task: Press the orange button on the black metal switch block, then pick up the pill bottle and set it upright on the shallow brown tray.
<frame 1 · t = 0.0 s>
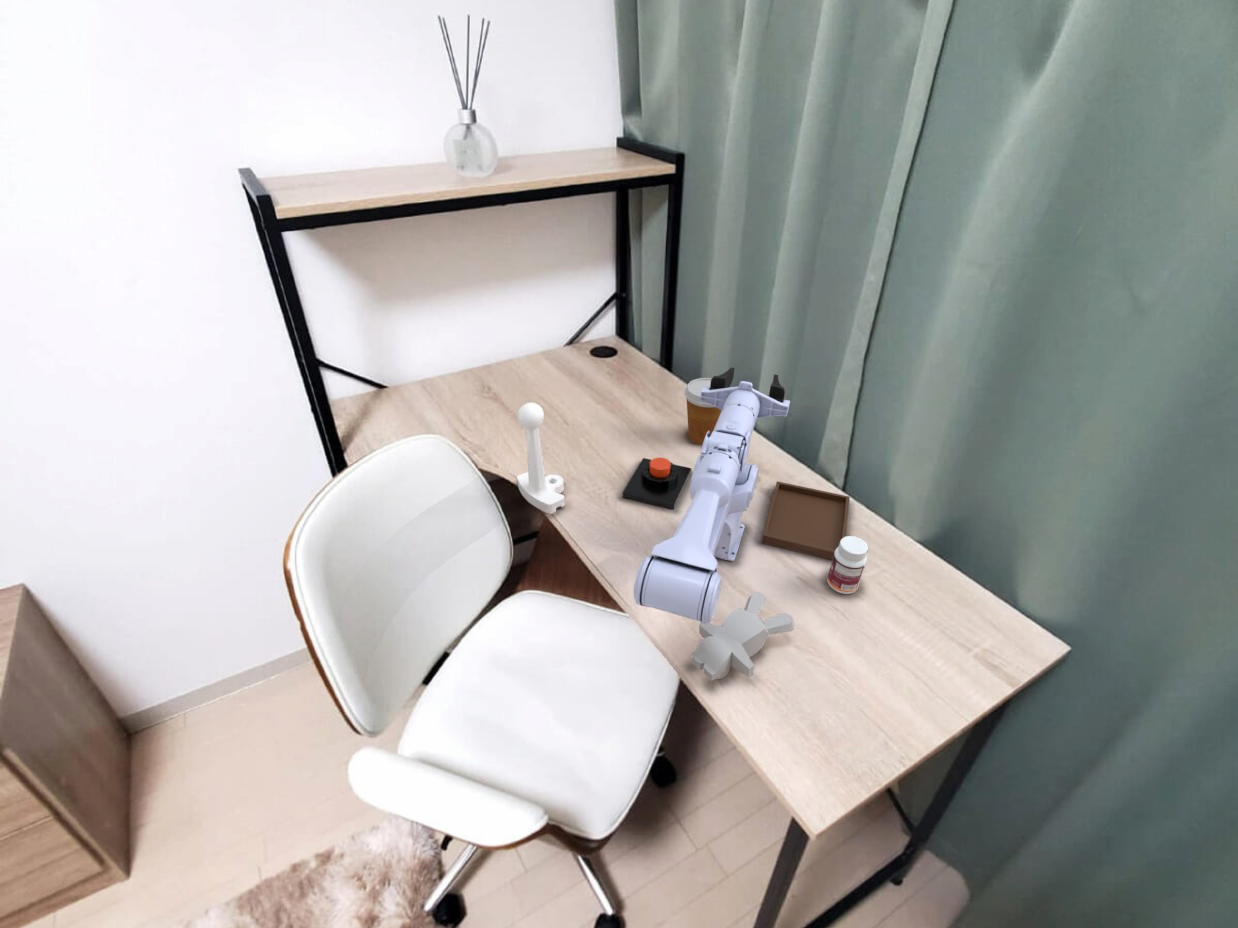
hand: (753, 376, 106), 22 cm above the table, tool horizontal, fingers open, 7 cm apart
disposable coffee cup: (703, 437, 130), on the table
bunny figurine: (737, 648, 85), on the table
power button: (660, 467, 115), point 4 cm above the table, slide at 0.1 cm
switch block: (657, 485, 116), on the table
shallow brown tray: (806, 522, 107), on the table
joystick: (545, 494, 114), on the table
pill bottle: (841, 584, 95), on the table
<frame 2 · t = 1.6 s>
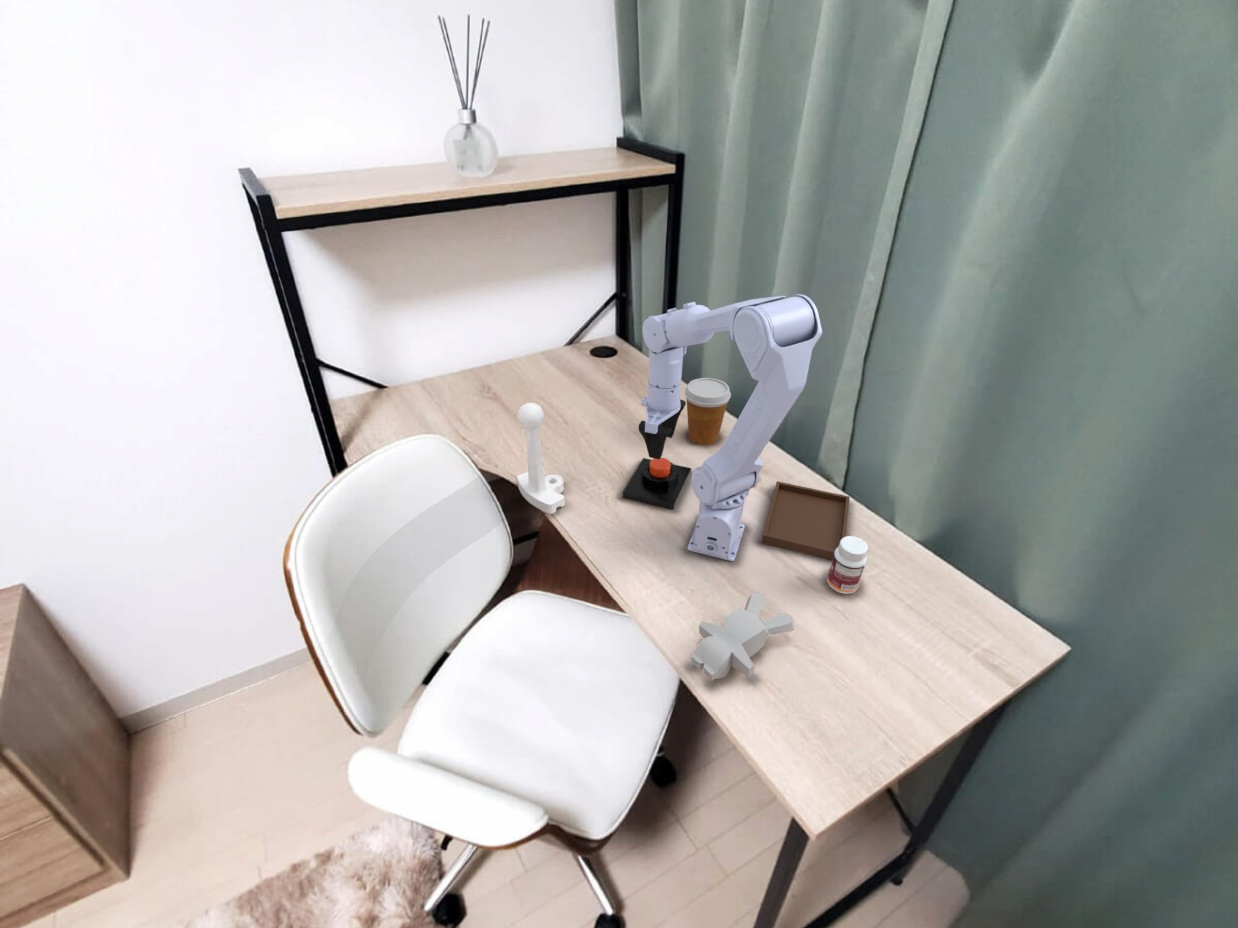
hand: (661, 446, 112), 8 cm above the table, tool pointing down, fingers open, 7 cm apart
nothing on the table moved.
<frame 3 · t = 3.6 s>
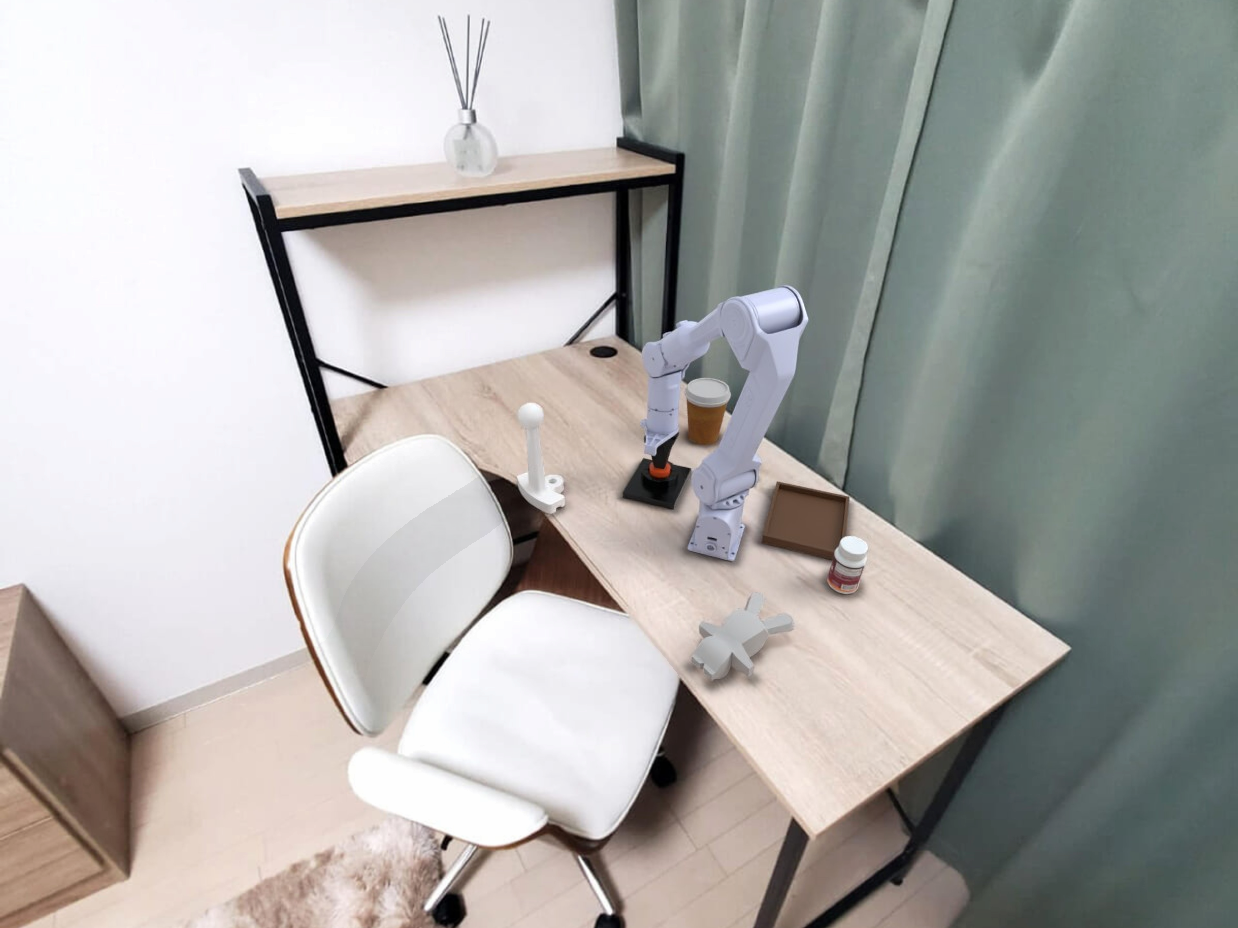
hand: (659, 466, 114), 4 cm above the table, tool pointing down, fingers closed, pressing on power button
power button: (659, 470, 115), point 3 cm above the table, slide at -0.5 cm, touching gripper
everything else where it was.
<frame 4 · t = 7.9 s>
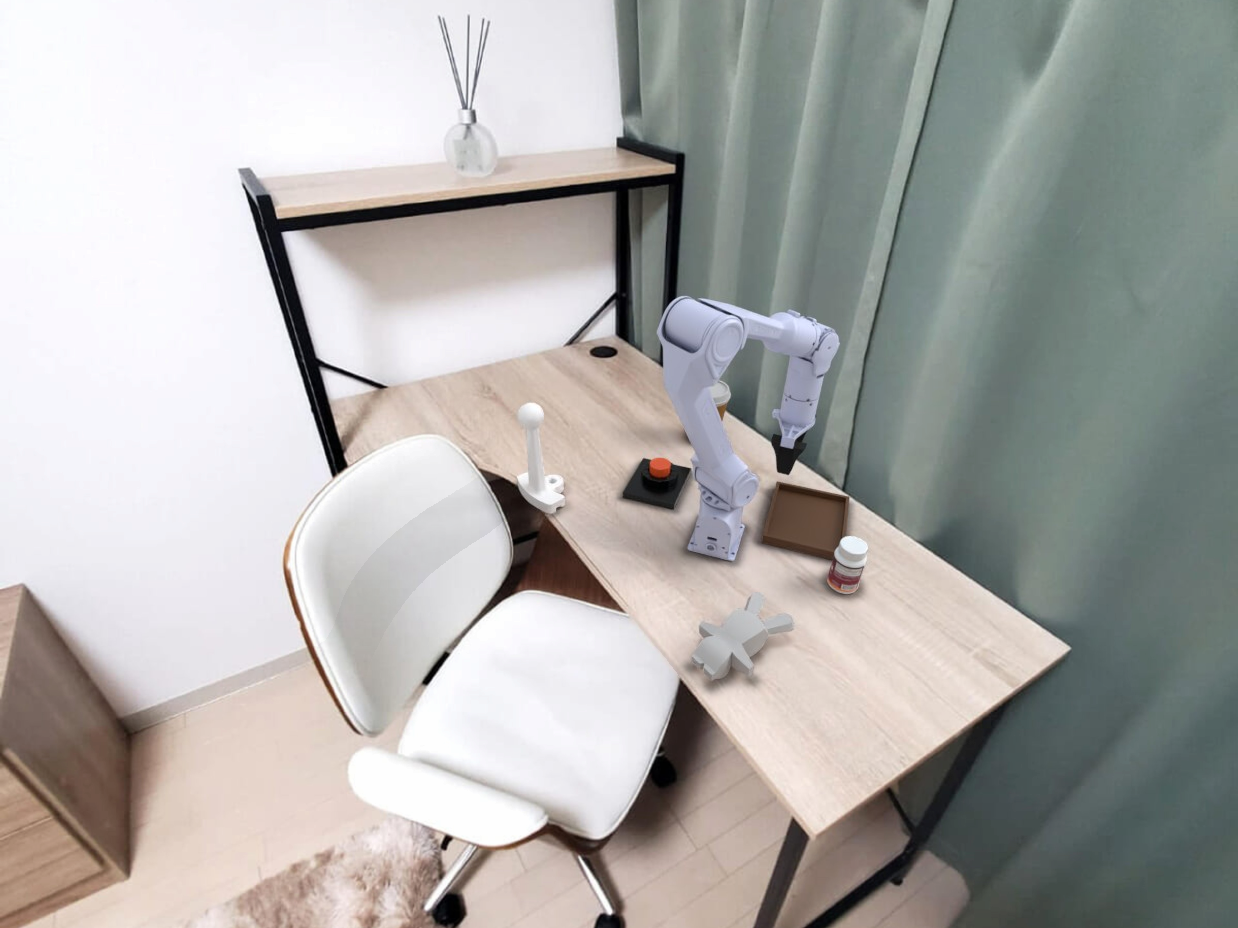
hand: (787, 461, 106), 9 cm above the table, tool pointing down, fingers open, 7 cm apart
power button: (660, 467, 115), point 4 cm above the table, slide at 0.1 cm
everything else where it was.
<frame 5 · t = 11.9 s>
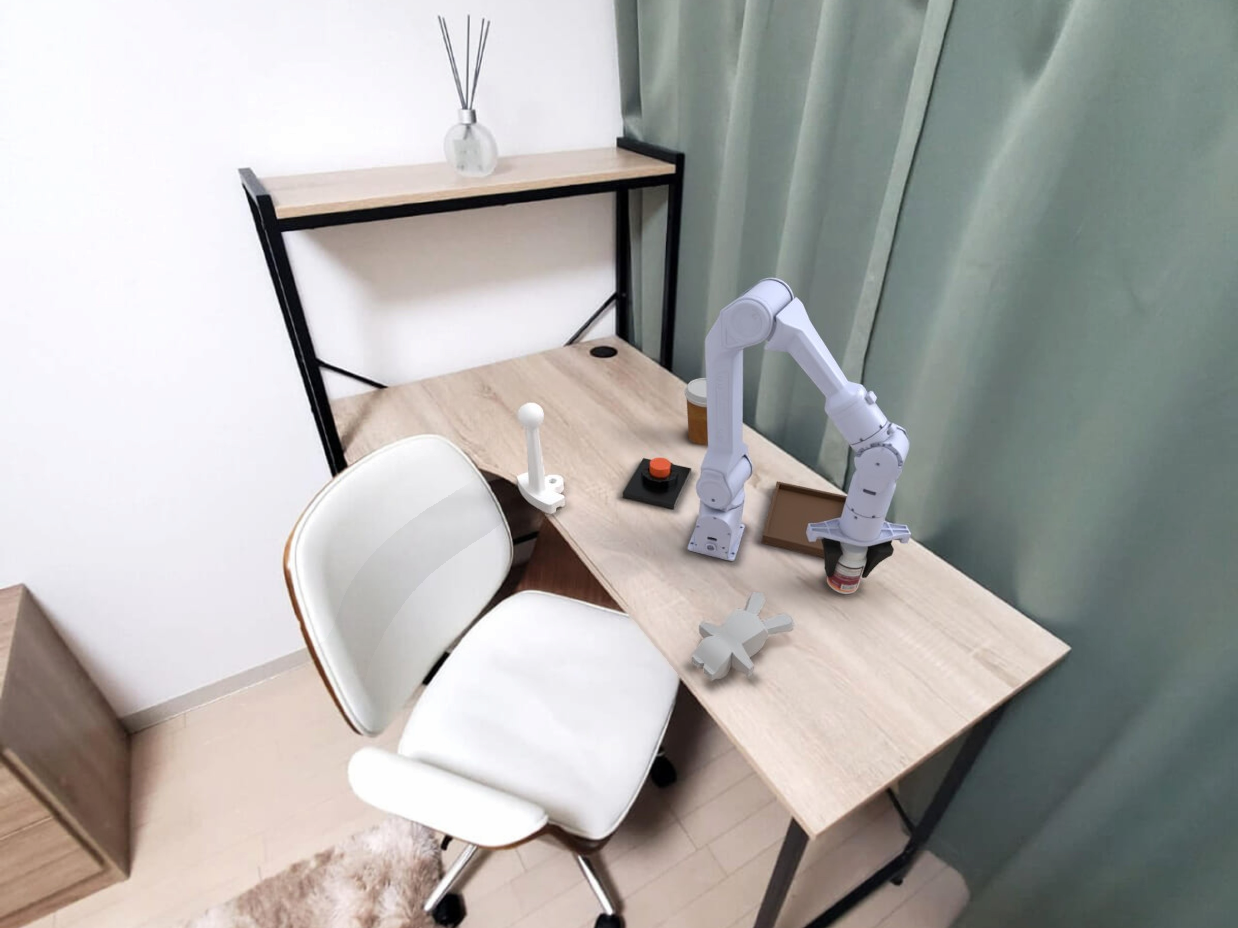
hand: (845, 572, 94), 2 cm above the table, tool pointing down, fingers closed on pill bottle, 5 cm apart
pill bottle: (841, 584, 95), on the table, touching gripper
everything else where it was.
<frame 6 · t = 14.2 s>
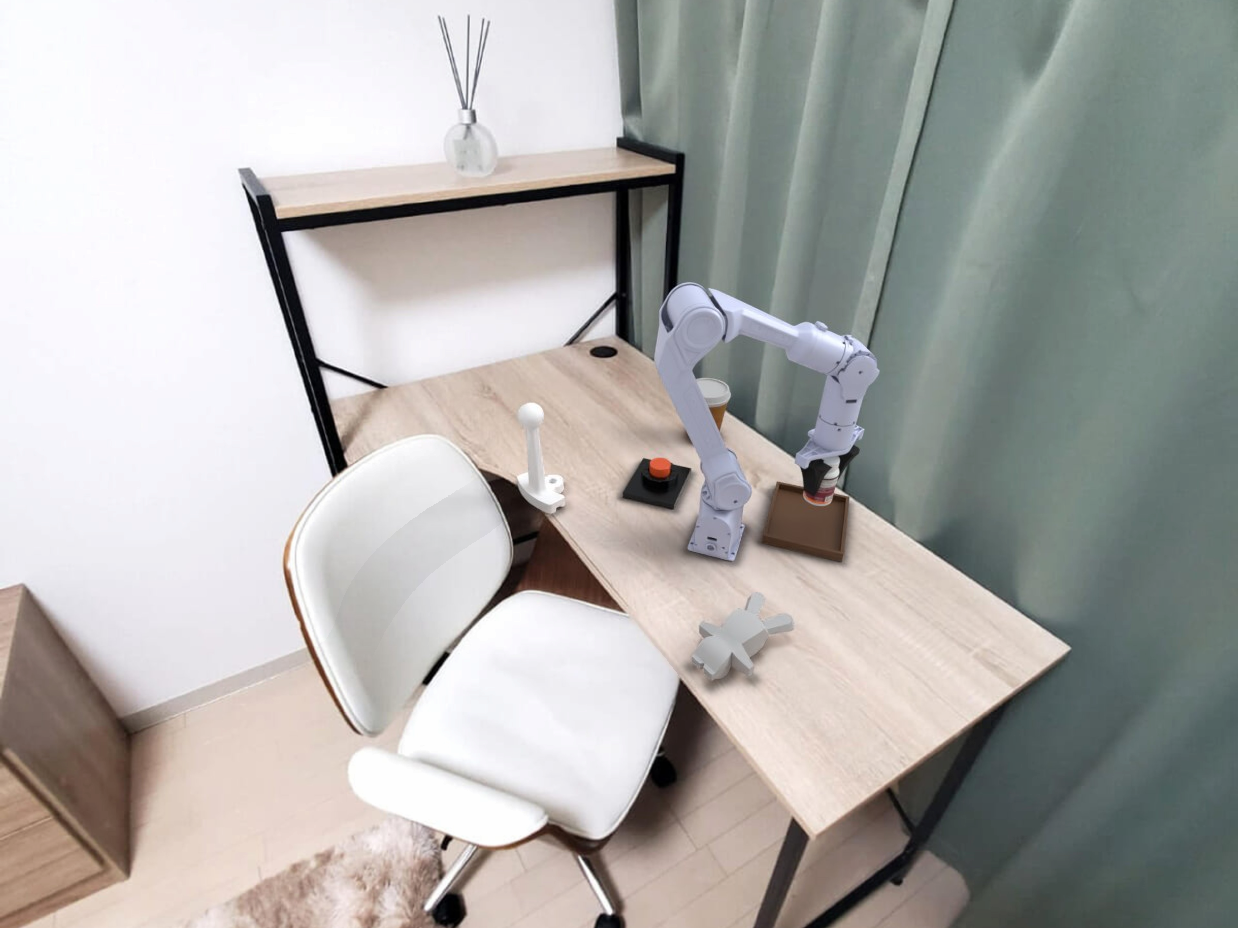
hand: (820, 486, 100), 9 cm above the table, tool pointing down, fingers closed on pill bottle, 5 cm apart
pill bottle: (816, 499, 102), point 7 cm above the table, touching gripper
everything else where it was.
when the fingers open (3 cm above the table, at t = 16.4 s): pill bottle stays where it is, resting on shallow brown tray.
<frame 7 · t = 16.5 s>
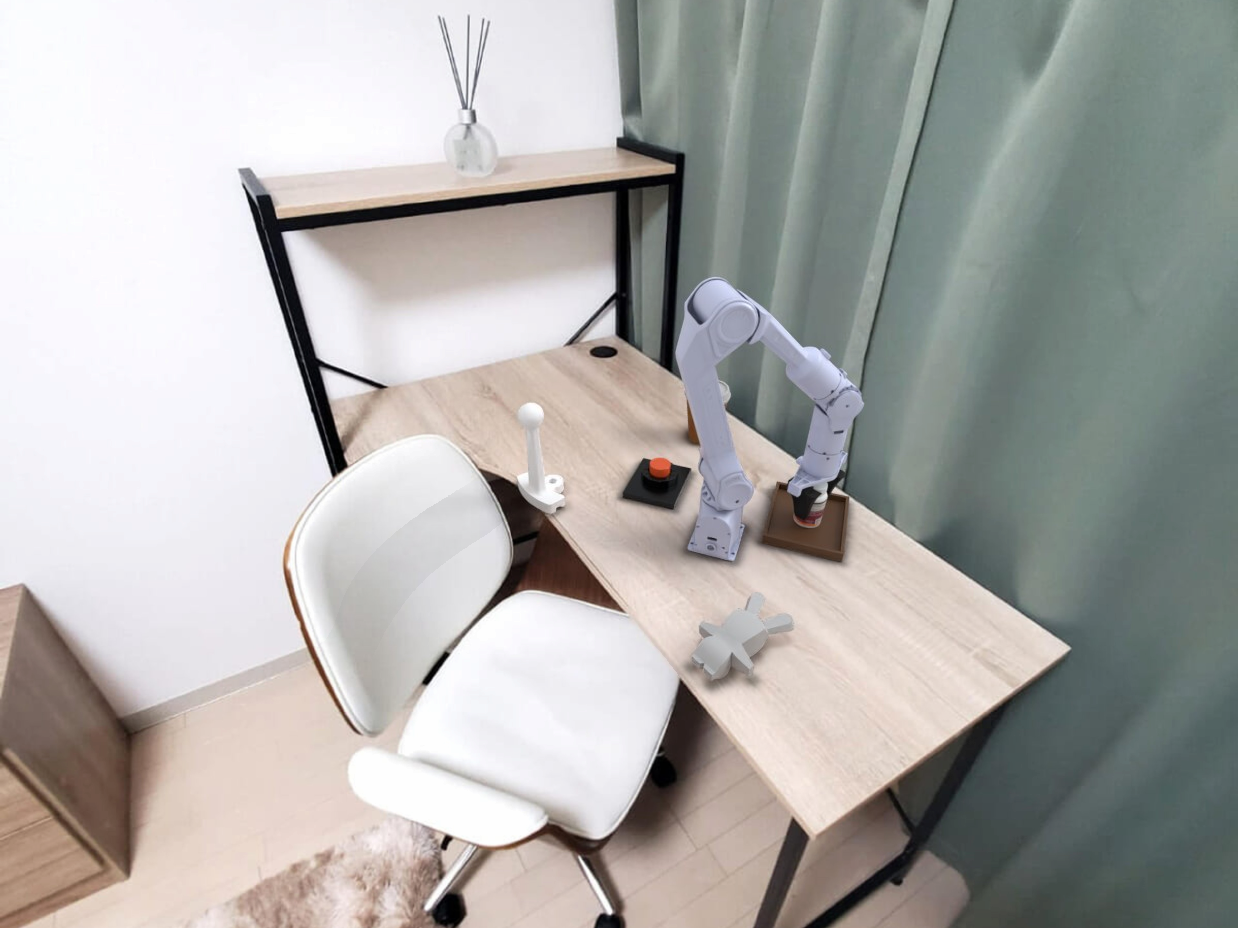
hand: (809, 509, 105), 3 cm above the table, tool pointing down, fingers open, 5 cm apart
pill bottle: (806, 521, 107), resting on shallow brown tray
everything else where it was.
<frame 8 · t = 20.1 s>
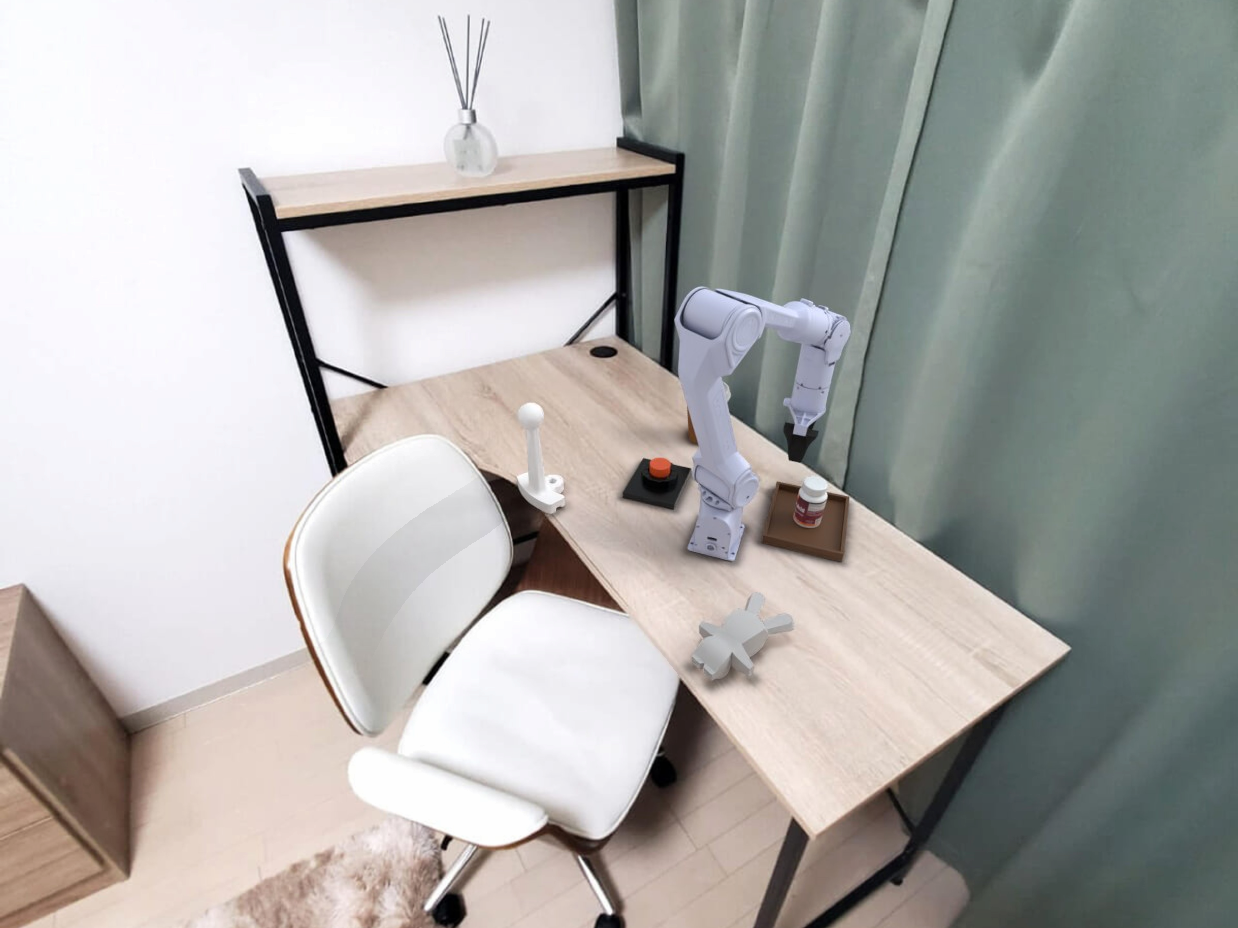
hand: (798, 449, 108), 10 cm above the table, tool pointing down, fingers open, 7 cm apart
nothing on the table moved.
at the end: pill bottle inside the target area in the shallow brown tray (0.0 cm from its centre), point 0.4 cm above the shallow brown tray's base; pill bottle tilted 0°; power button pushed in 1.0 cm at the most during the clip, back to where it started at the end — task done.
